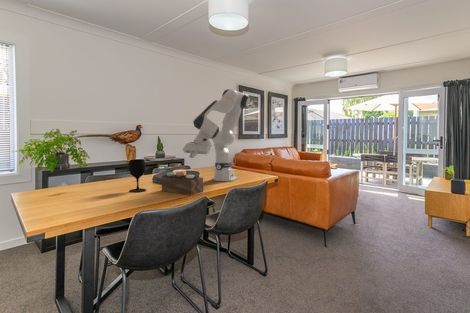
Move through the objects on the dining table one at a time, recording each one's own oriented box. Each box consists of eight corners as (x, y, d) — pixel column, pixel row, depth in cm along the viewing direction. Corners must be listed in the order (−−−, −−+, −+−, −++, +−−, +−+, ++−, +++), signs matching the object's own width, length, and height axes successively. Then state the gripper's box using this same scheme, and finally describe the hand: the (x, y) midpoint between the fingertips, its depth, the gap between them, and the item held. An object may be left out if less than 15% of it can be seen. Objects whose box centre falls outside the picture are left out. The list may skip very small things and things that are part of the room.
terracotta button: (179, 174, 169) (179, 171, 169) (185, 175, 167) (185, 172, 167) (174, 176, 165) (174, 172, 165) (180, 176, 163) (180, 173, 162)
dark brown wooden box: (174, 187, 180) (174, 173, 179) (202, 191, 168) (202, 176, 167) (161, 190, 169) (161, 175, 168) (191, 195, 158) (191, 179, 157)
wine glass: (135, 193, 161) (134, 161, 159) (125, 191, 167) (125, 160, 166) (149, 190, 169) (149, 159, 168) (140, 188, 176) (139, 158, 174)
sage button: (170, 175, 173) (170, 172, 173) (176, 176, 171) (176, 173, 171) (164, 176, 169) (164, 173, 169) (170, 177, 167) (170, 174, 166)
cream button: (189, 177, 166) (189, 174, 166) (195, 178, 163) (195, 175, 163) (184, 179, 161) (184, 175, 161) (190, 179, 159) (190, 176, 159)
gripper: (186, 138, 185) (177, 153, 178) (210, 139, 175) (201, 155, 168) (190, 144, 190) (181, 159, 182) (213, 145, 179) (205, 161, 172)
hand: (191, 157), depth 175 cm, fingers closed
